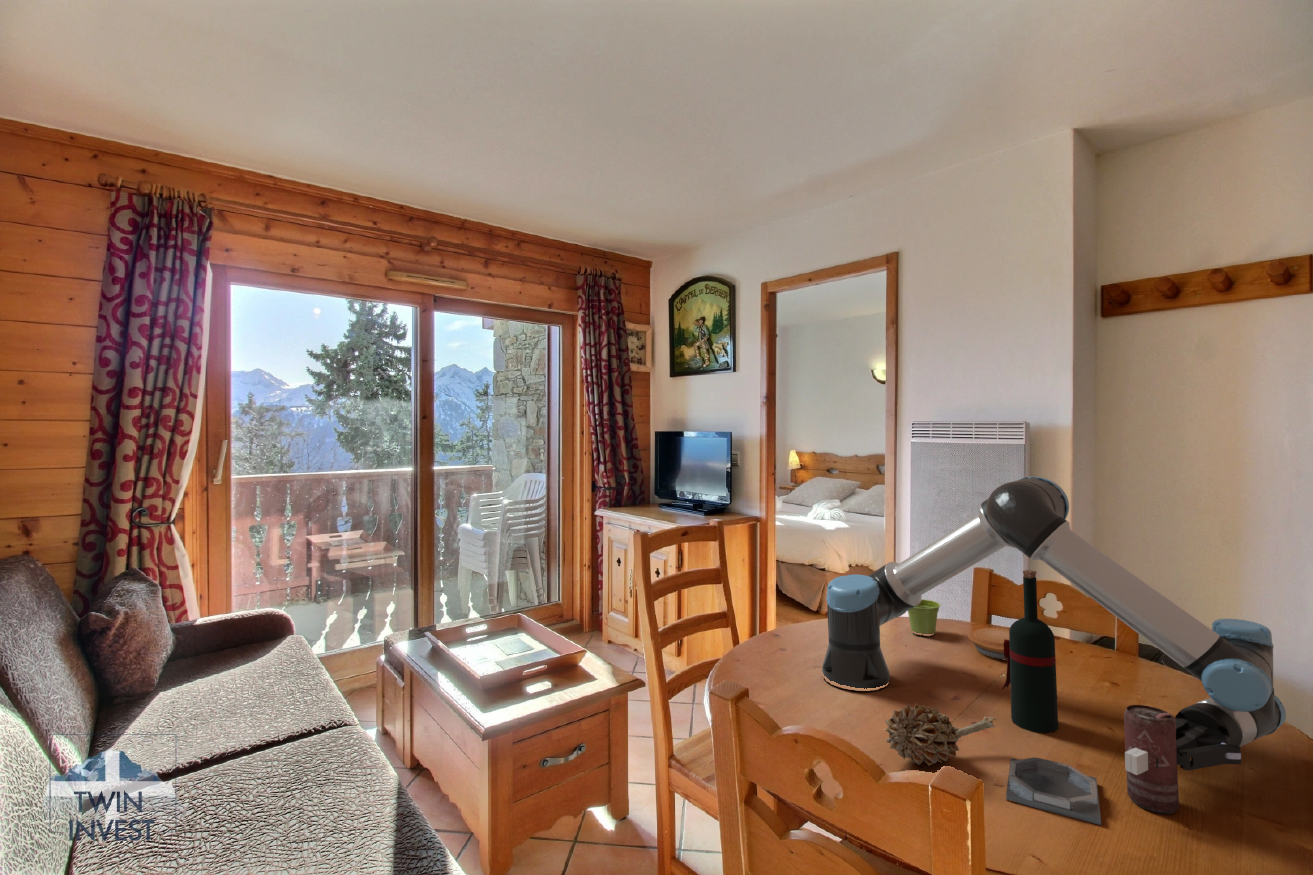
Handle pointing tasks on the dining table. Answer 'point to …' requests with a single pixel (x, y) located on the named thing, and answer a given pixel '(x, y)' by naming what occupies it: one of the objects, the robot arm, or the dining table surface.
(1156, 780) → the can
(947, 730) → the pine cone
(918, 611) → the plant pot
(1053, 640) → the wine bottle
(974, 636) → the pie
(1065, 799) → the cup holder
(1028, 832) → the dining table surface
